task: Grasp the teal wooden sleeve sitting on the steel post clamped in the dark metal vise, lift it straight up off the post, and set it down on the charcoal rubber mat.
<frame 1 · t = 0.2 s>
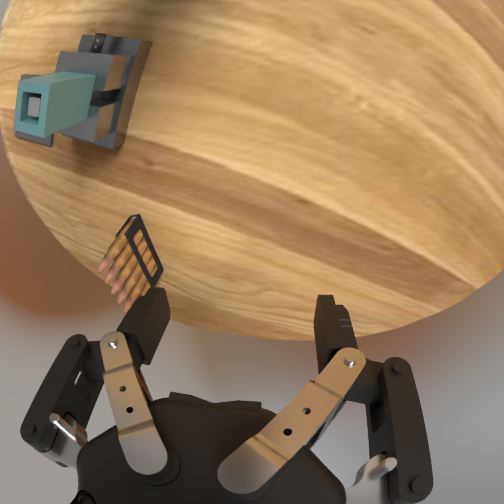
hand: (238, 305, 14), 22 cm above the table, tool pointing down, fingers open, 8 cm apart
sleeve: (74, 94, 20), point 7 cm above the table, touching vise
vise: (107, 87, 26), on the table
mat: (36, 108, 26), on the table
ammunition clip: (147, 243, 40), on the table
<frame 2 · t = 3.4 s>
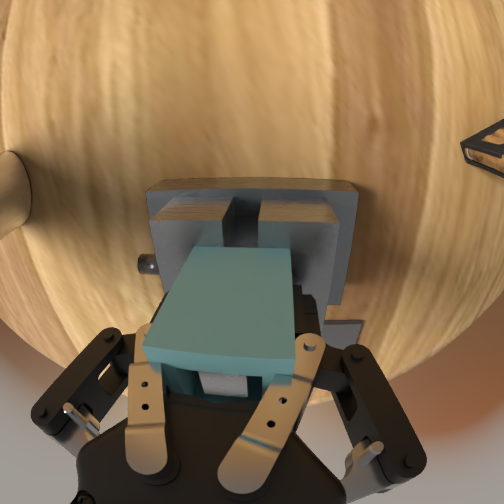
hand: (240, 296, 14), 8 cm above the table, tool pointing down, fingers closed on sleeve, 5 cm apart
sleeve: (242, 287, 15), point 7 cm above the table, touching gripper, vise
vise: (253, 233, 21), on the table
mat: (301, 353, 28), on the table
ammunition clip: (495, 132, 14), on the table
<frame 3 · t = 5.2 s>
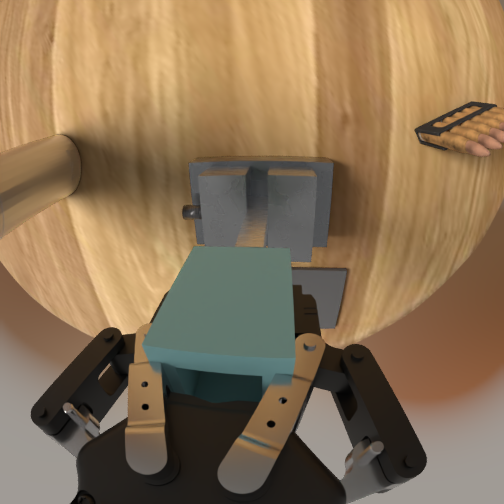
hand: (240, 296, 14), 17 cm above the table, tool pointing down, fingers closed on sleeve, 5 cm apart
sleeve: (242, 286, 15), point 16 cm above the table, touching gripper
vise: (262, 196, 29), on the table
mat: (300, 298, 36), on the table
ammunition clip: (447, 120, 22), on the table
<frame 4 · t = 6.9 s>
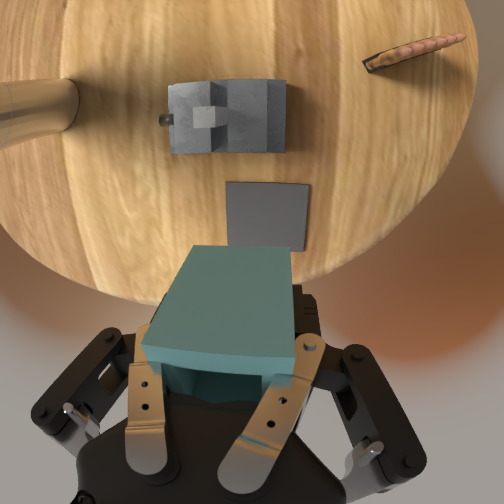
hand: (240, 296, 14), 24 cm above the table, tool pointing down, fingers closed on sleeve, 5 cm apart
sleeve: (242, 285, 15), point 23 cm above the table, touching gripper
vise: (228, 115, 31), on the table
mat: (266, 216, 38), on the table
ammunition clip: (394, 56, 25), on the table
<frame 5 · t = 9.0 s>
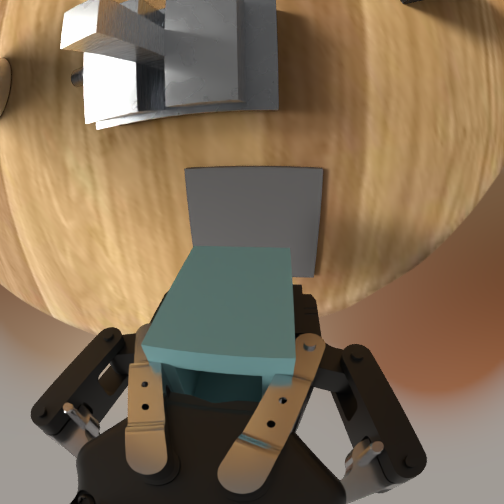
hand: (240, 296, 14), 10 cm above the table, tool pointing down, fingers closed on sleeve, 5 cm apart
sleeve: (242, 286, 15), point 9 cm above the table, touching gripper
vise: (187, 63, 17), on the table
mat: (254, 223, 23), on the table
when the fingers open (3 cm above the table, at t = 10.9 s): sleeve drops 2 cm, resting on mat.
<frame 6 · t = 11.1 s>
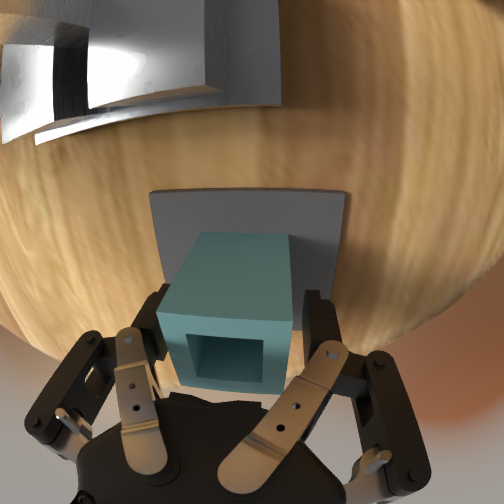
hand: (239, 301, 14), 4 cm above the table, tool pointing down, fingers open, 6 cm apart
sleeve: (244, 270, 17), point 1 cm above the table, touching mat
vise: (150, 44, 11), on the table
mat: (246, 265, 17), on the table
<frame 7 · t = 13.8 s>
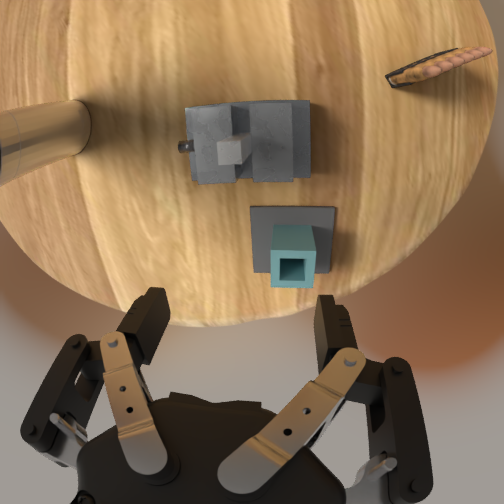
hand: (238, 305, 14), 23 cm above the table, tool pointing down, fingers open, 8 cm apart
sleeve: (291, 241, 37), point 1 cm above the table, touching mat
vise: (250, 137, 31), on the table
mat: (292, 240, 37), on the table
ammunition clip: (416, 68, 23), on the table
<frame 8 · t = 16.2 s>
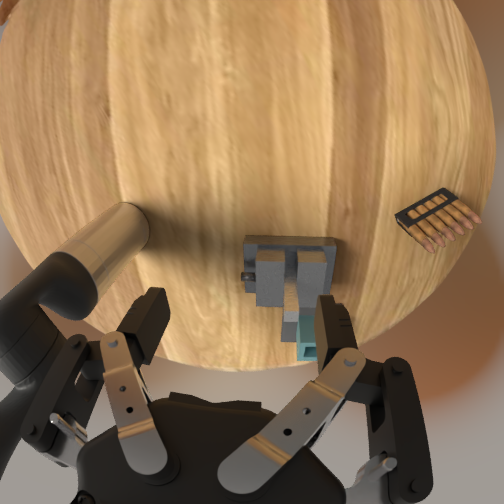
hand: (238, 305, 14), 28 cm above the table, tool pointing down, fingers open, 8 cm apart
sleeve: (310, 324, 50), point 1 cm above the table, touching mat
vise: (288, 260, 45), on the table
mat: (310, 323, 51), on the table
ammunition clip: (420, 204, 38), on the table
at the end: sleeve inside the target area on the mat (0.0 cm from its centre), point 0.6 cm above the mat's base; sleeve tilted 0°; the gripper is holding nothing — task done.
